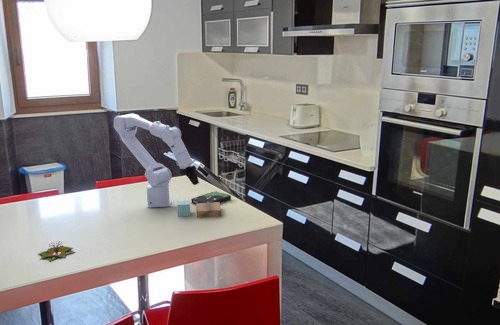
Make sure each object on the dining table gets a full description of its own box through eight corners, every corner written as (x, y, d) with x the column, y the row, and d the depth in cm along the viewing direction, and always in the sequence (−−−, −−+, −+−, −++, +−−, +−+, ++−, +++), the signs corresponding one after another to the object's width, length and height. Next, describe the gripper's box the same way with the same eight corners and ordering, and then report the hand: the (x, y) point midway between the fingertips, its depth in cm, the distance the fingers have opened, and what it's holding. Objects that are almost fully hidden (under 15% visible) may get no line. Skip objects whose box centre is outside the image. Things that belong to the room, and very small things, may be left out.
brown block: (196, 218, 184) (196, 211, 183) (196, 210, 193) (195, 203, 193) (221, 217, 185) (221, 209, 184) (219, 208, 195) (219, 202, 194)
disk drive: (207, 209, 194) (231, 200, 205) (206, 203, 194) (231, 194, 204) (191, 204, 201) (215, 196, 212) (190, 198, 200) (215, 190, 211)
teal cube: (177, 216, 185) (177, 205, 184) (178, 212, 190) (177, 201, 189) (190, 215, 186) (189, 204, 185) (190, 211, 191) (189, 200, 189)
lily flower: (65, 244, 161) (63, 232, 160) (82, 253, 153) (81, 241, 152) (30, 255, 152) (29, 243, 151) (47, 266, 145) (45, 253, 144)
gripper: (188, 148, 182) (204, 178, 181) (191, 151, 196) (205, 180, 195) (172, 156, 181) (188, 186, 180) (176, 159, 195) (190, 187, 195)
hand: (196, 183), depth 188 cm, fingers open, 7 cm apart
